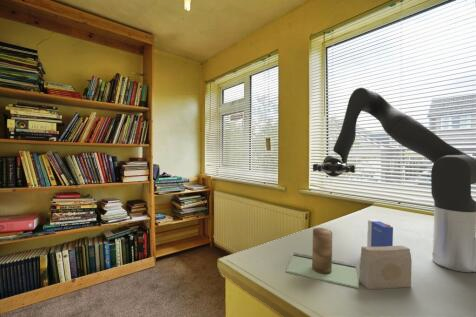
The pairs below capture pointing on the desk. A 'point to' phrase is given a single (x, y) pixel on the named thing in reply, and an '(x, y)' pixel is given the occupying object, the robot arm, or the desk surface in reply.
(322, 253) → the spiral cardboard tube
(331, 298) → the desk surface
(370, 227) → the walkman
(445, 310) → the desk surface
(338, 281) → the mat
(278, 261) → the desk surface
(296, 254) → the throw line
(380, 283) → the fossil
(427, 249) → the desk surface
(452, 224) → the robot arm
